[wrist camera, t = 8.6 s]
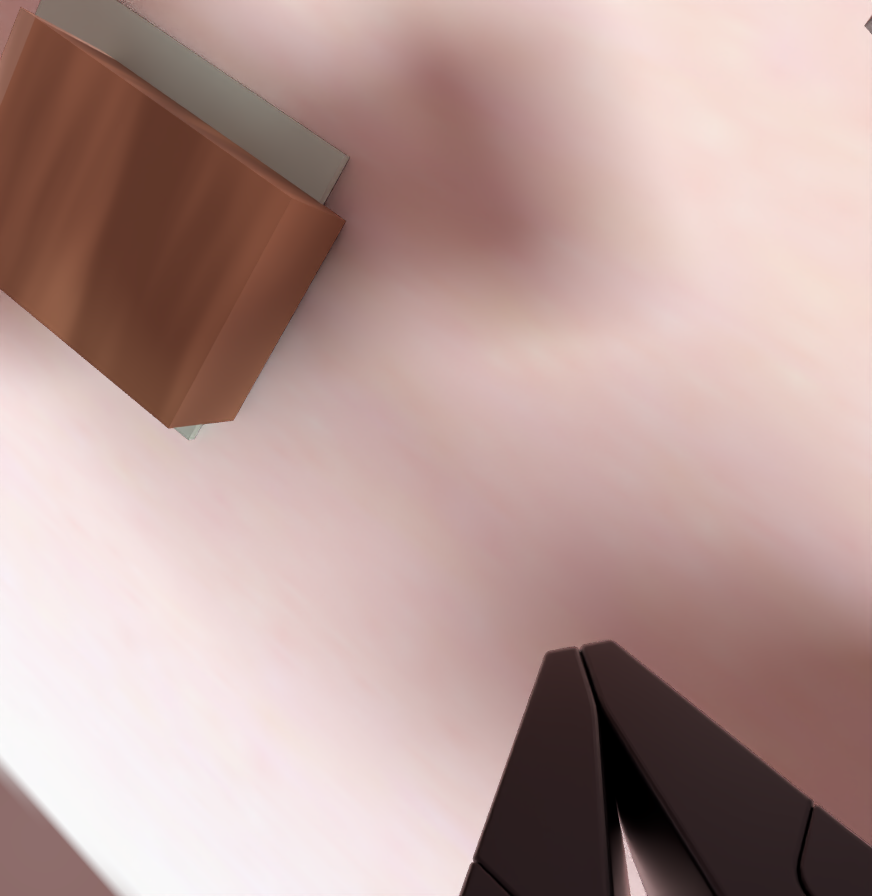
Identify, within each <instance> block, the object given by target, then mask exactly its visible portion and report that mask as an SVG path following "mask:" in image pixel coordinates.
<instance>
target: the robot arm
mask: <svg viewBox="0 0 872 896" xmlns="http://www.w3.org/2000/svg"><path fill="white" fill-rule="evenodd" d="M619 819H620V821H619ZM620 823H621V826H622V829H623V833H624V836H625V839H626V841H627V844H628V847H629V850H630V853H631V855H632V858H633V861H634V863H635V866H636V868H637V871H638V873H639V876H640V879H641V881H642V884H643V886H644V889H645V892H646V894H647V896H872V846H871V845H870V844H868V843H867V842H866V841H864V840H863V839H862V838H860V837H859V836H858V835H856V834H855V833H854V832H853V831H851V830H850V829H849V828H847V827H846V826H845V825H844V824H842V823H841V822H840V821H839V820H837V819H836V818H835V817H834V816H832V815H831V814H830V813H829V812H827V811H826V810H825V809H824V808H823V807H821V806H819V805H816V806H815V804H814V801H813V800H812V799H811V798H810V797H808V796H807V795H806V794H805V793H803V792H802V791H801V790H800V789H798V788H797V787H796V786H795V785H793V784H792V783H791V782H790V781H788V780H787V779H786V778H785V777H783V776H782V775H781V774H780V773H778V772H777V771H776V770H775V769H773V768H772V767H771V766H770V765H768V764H767V763H766V762H765V761H763V760H762V759H761V758H760V757H758V756H757V755H756V754H755V753H753V752H752V751H751V750H750V749H748V748H747V747H746V746H745V745H743V744H742V743H741V742H740V741H738V740H737V739H736V738H735V737H733V736H732V735H731V734H730V733H728V732H727V731H726V730H725V729H723V728H722V727H721V726H720V725H718V724H717V723H716V722H715V721H713V720H712V719H711V718H710V717H708V716H707V715H706V714H705V713H703V712H702V711H701V710H700V709H698V708H697V707H696V706H695V705H693V704H692V703H691V702H690V701H688V700H687V699H686V698H685V697H683V696H682V695H681V694H680V693H678V692H677V691H676V690H675V689H673V688H672V687H671V686H670V685H668V684H667V683H666V682H665V681H663V680H662V679H661V678H660V677H658V676H657V675H656V674H655V673H653V672H652V671H651V670H650V669H648V668H647V667H646V666H645V665H644V664H642V663H641V662H640V661H639V660H637V659H636V658H635V657H634V656H632V655H631V654H630V653H629V652H627V651H626V650H625V649H624V648H622V647H621V646H620V645H619V644H617V643H616V642H615V641H612V640H605V641H599V642H594V643H589V644H584V645H582V646H581V649H580V650H579V649H578V648H577V647H567V648H562V649H557V650H551V651H548V652H547V653H546V654H545V656H544V658H543V661H542V663H541V666H540V669H539V672H538V675H537V678H536V680H535V683H534V686H533V689H532V692H531V695H530V697H529V700H528V703H527V706H526V709H525V712H524V714H523V717H522V720H521V723H520V726H519V729H518V731H517V734H516V737H515V740H514V743H513V745H512V748H511V751H510V754H509V757H508V760H507V762H506V765H505V768H504V771H503V774H502V777H501V779H500V782H499V785H498V788H497V791H496V794H495V796H494V799H493V802H492V805H491V808H490V811H489V813H488V816H487V819H486V822H485V825H484V828H483V830H482V833H481V836H480V839H479V842H478V844H477V847H476V850H475V853H474V856H473V862H472V863H471V864H470V866H469V869H468V872H467V875H466V877H465V880H464V883H463V886H462V889H461V892H460V894H459V896H631V894H630V887H629V879H628V872H627V864H626V857H625V850H624V844H623V838H622V832H621V827H620Z"/></svg>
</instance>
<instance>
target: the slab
mask: <svg viewBox="0 0 872 896" xmlns="http://www.w3.org/2000/svg"><path fill="white" fill-rule="evenodd" d="M345 222H346V221H345V220H344V219H343V218H341V217H340V216H338V215H337V214H335V213H334V212H333V211H331V210H330V209H328V208H327V207H325V206H324V205H323V204H321V203H320V202H318V201H317V200H315V199H314V198H313V197H311V196H310V195H308V194H307V193H305V192H304V191H303V190H301V189H300V188H298V187H297V186H295V185H294V184H293V183H291V182H290V181H288V180H287V179H285V178H284V177H283V176H281V175H280V174H278V173H277V172H275V171H274V170H273V169H271V168H270V167H268V166H267V165H265V164H264V163H263V162H261V161H260V160H258V159H257V158H255V157H254V156H252V155H251V154H250V153H248V152H247V151H245V150H244V149H242V148H241V147H240V146H238V145H237V144H235V143H234V142H232V141H231V140H230V139H228V138H227V137H225V136H224V135H222V134H221V133H220V132H218V131H217V130H215V129H214V128H212V127H211V126H210V125H208V124H207V123H205V122H204V121H202V120H201V119H200V118H198V117H197V116H195V115H194V114H192V113H191V112H190V111H188V110H187V109H185V108H184V107H182V106H181V105H180V104H178V103H177V102H175V101H174V100H172V99H171V98H170V97H168V96H167V95H165V94H164V93H162V92H161V91H160V90H158V89H157V88H155V87H154V86H152V85H151V84H150V83H148V82H147V81H145V80H144V79H142V78H141V77H139V76H138V75H137V74H135V73H134V72H132V71H131V70H129V69H128V68H127V67H125V66H124V65H122V64H121V63H119V62H118V61H117V60H115V59H114V58H112V57H111V56H109V55H108V54H107V53H105V52H104V51H102V50H100V49H98V48H96V47H94V46H93V45H91V44H89V43H87V42H85V41H83V40H81V39H80V38H78V37H76V36H74V35H72V34H70V33H68V32H66V31H65V30H63V29H61V28H59V27H57V26H55V25H53V24H52V23H50V22H48V21H46V20H44V19H42V18H40V17H39V16H37V15H35V14H33V13H31V12H29V11H27V10H25V9H24V8H22V7H20V10H19V13H18V15H17V18H16V20H15V23H14V25H13V28H12V30H11V33H10V36H9V38H8V41H7V43H6V46H5V48H4V51H3V54H2V56H1V59H0V289H1V290H2V291H3V292H5V293H6V294H7V295H8V296H9V297H11V298H12V299H13V300H14V301H15V302H17V303H18V304H19V305H20V306H21V307H23V308H24V309H25V310H26V311H27V312H29V313H30V314H31V315H32V316H34V317H35V318H36V319H37V320H38V321H40V322H41V323H42V324H43V325H44V326H46V327H47V328H48V329H49V330H50V331H52V332H53V333H54V334H55V335H56V336H58V337H59V338H60V339H61V340H62V341H64V342H65V343H66V344H67V345H68V346H70V347H71V348H72V349H73V350H75V351H76V352H77V353H78V354H79V355H81V356H82V357H83V358H84V359H85V360H87V361H88V362H89V363H90V364H91V365H93V366H94V367H95V368H96V369H97V370H99V371H100V372H101V373H102V374H103V375H105V376H106V377H107V378H108V379H109V380H111V381H112V382H113V383H114V384H115V385H117V386H118V387H119V388H120V389H122V390H123V391H124V392H125V393H126V394H128V395H129V396H130V397H131V398H132V399H134V400H135V401H136V402H137V403H138V404H140V405H141V406H142V407H143V408H144V409H146V410H147V411H148V412H149V413H150V414H152V415H153V416H154V417H155V418H156V419H158V420H159V421H160V422H161V423H162V424H164V425H165V426H166V427H167V428H176V427H184V426H193V425H201V424H209V423H217V422H225V421H233V420H234V418H235V417H236V415H237V413H238V411H239V409H240V408H241V406H242V404H243V402H244V401H245V399H246V397H247V395H248V393H249V392H250V390H251V388H252V386H253V385H254V383H255V381H256V379H257V378H258V376H259V374H260V372H261V370H262V369H263V367H264V365H265V363H266V362H267V360H268V358H269V356H270V355H271V353H272V351H273V349H274V347H275V346H276V344H277V342H278V340H279V339H280V337H281V335H282V333H283V331H284V330H285V328H286V326H287V324H288V323H289V321H290V319H291V317H292V316H293V314H294V312H295V310H296V308H297V307H298V305H299V303H300V301H301V300H302V298H303V296H304V294H305V293H306V291H307V289H308V287H309V285H310V284H311V282H312V280H313V278H314V277H315V275H316V273H317V271H318V269H319V268H320V266H321V264H322V262H323V261H324V259H325V257H326V255H327V254H328V252H329V250H330V248H331V246H332V245H333V243H334V241H335V239H336V238H337V236H338V234H339V232H340V231H341V229H342V227H343V225H344V223H345Z"/></svg>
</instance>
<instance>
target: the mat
mask: <svg viewBox="0 0 872 896" xmlns="http://www.w3.org/2000/svg"><path fill="white" fill-rule="evenodd" d="M35 15H37V16H39V17H40V18H42V19H44V20H46V21H48V22H50V23H52V24H53V25H55V26H57V27H59V28H61V29H63V30H65V31H66V32H68V33H70V34H72V35H74V36H76V37H78V38H80V39H81V40H83V41H85V42H87V43H89V44H91V45H93V46H94V47H96V48H98V49H100V50H102V51H104V52H105V53H107V54H108V55H109V56H111V57H112V58H114V59H115V60H117V61H118V62H119V63H121V64H122V65H124V66H125V67H127V68H128V69H129V70H131V71H132V72H134V73H135V74H137V75H138V76H139V77H141V78H142V79H144V80H145V81H147V82H148V83H150V84H151V85H152V86H154V87H155V88H157V89H158V90H160V91H161V92H162V93H164V94H165V95H167V96H168V97H170V98H171V99H172V100H174V101H175V102H177V103H178V104H180V105H181V106H182V107H184V108H185V109H187V110H188V111H190V112H191V113H192V114H194V115H195V116H197V117H198V118H200V119H201V120H202V121H204V122H205V123H207V124H208V125H210V126H211V127H212V128H214V129H215V130H217V131H218V132H220V133H221V134H222V135H224V136H225V137H227V138H228V139H230V140H231V141H232V142H234V143H235V144H237V145H238V146H240V147H241V148H242V149H244V150H245V151H247V152H248V153H250V154H251V155H252V156H254V157H255V158H257V159H258V160H260V161H261V162H263V163H264V164H265V165H267V166H268V167H270V168H271V169H273V170H274V171H275V172H277V173H278V174H280V175H281V176H283V177H284V178H285V179H287V180H288V181H290V182H291V183H293V184H294V185H295V186H297V187H298V188H300V189H301V190H303V191H304V192H305V193H307V194H308V195H310V196H311V197H313V198H314V199H315V200H317V201H318V202H320V203H321V204H323V205H324V203H325V201H326V199H327V198H328V196H329V194H330V192H331V190H332V188H333V187H334V185H335V183H336V181H337V179H338V178H339V176H340V174H341V172H342V170H343V168H344V167H345V165H346V163H347V161H348V159H349V158H350V157H348V156H347V155H345V154H344V153H342V152H341V151H339V150H338V149H336V148H335V147H333V146H332V145H330V144H329V143H327V142H326V141H324V140H323V139H322V138H320V137H319V136H317V135H316V134H314V133H313V132H311V131H310V130H308V129H307V128H305V127H304V126H302V125H301V124H299V123H298V122H296V121H295V120H293V119H292V118H290V117H289V116H287V115H286V114H284V113H283V112H281V111H280V110H279V109H277V108H276V107H274V106H273V105H271V104H270V103H268V102H267V101H265V100H264V99H262V98H261V97H259V96H258V95H256V94H255V93H253V92H252V91H250V90H249V89H247V88H246V87H244V86H243V85H241V84H240V83H239V82H237V81H236V80H234V79H233V78H231V77H230V76H228V75H227V74H225V73H224V72H222V71H221V70H219V69H218V68H216V67H215V66H213V65H212V64H210V63H209V62H207V61H206V60H204V59H203V58H201V57H200V56H199V55H197V54H196V53H194V52H193V51H191V50H190V49H188V48H187V47H185V46H184V45H182V44H181V43H179V42H178V41H176V40H175V39H173V38H172V37H170V36H169V35H167V34H166V33H164V32H163V31H161V30H160V29H158V28H157V27H156V26H154V25H153V24H151V23H150V22H148V21H147V20H145V19H144V18H142V17H141V16H139V15H138V14H136V13H135V12H133V11H132V10H130V9H129V8H127V7H126V6H124V5H123V4H121V3H120V2H118V1H117V0H41V1H40V3H39V6H38V8H37V11H36V13H35ZM201 426H202V424H201V425H193V426H184V427H176V428H174V429H176V430H177V431H178V432H179V433H180V434H182V435H183V436H184V437H185V438H186V439H188V440H192V439H195V437H196V435H197V433H198V432H199V430H200V428H201Z"/></svg>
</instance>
